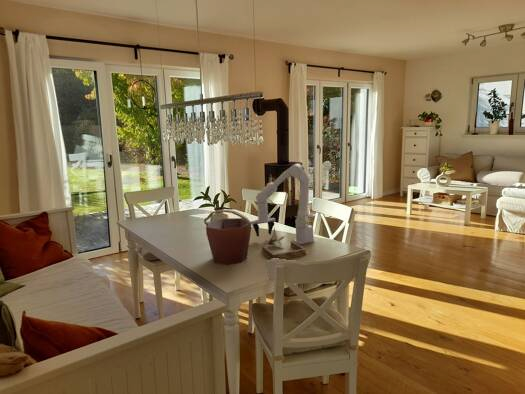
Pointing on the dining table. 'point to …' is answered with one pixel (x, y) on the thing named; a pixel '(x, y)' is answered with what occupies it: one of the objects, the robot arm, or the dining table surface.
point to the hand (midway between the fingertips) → (263, 235)
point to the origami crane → (275, 240)
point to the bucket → (228, 238)
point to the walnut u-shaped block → (296, 252)
